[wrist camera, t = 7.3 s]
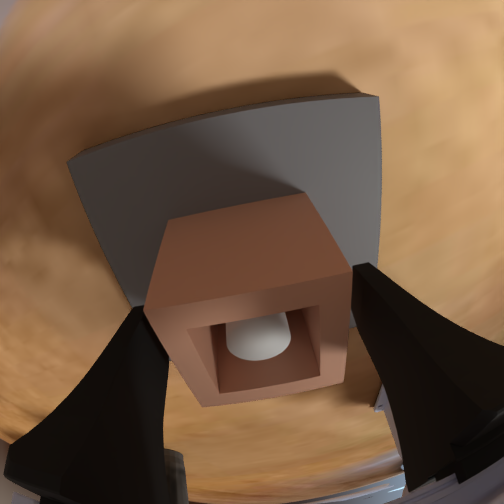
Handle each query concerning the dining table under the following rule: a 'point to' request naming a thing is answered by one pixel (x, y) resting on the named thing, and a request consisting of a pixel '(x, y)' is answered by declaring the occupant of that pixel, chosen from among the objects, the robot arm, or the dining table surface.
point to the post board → (237, 186)
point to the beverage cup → (176, 477)
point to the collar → (252, 298)
